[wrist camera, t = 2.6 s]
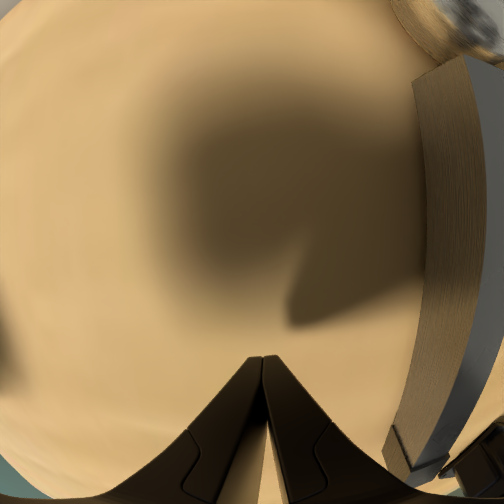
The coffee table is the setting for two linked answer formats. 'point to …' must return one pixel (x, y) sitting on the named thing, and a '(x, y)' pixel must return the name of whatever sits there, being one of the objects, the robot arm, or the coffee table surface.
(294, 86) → the coffee table surface
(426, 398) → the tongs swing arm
